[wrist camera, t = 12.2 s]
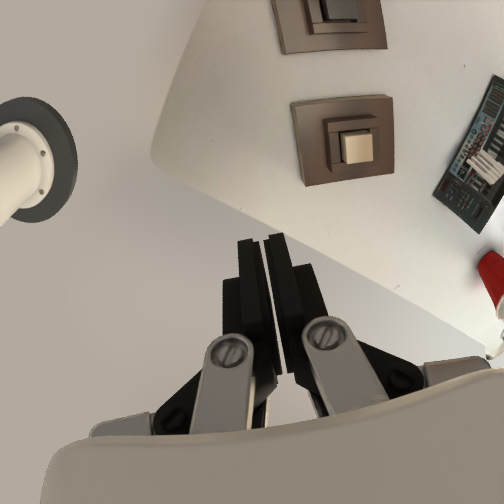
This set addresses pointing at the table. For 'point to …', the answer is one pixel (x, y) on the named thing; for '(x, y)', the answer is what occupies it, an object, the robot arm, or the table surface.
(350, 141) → the key ivory
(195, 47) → the table surface
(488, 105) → the synthesizer keyboard
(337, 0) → the key ebony
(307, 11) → the key block
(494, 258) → the plastic cup
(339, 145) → the key block
